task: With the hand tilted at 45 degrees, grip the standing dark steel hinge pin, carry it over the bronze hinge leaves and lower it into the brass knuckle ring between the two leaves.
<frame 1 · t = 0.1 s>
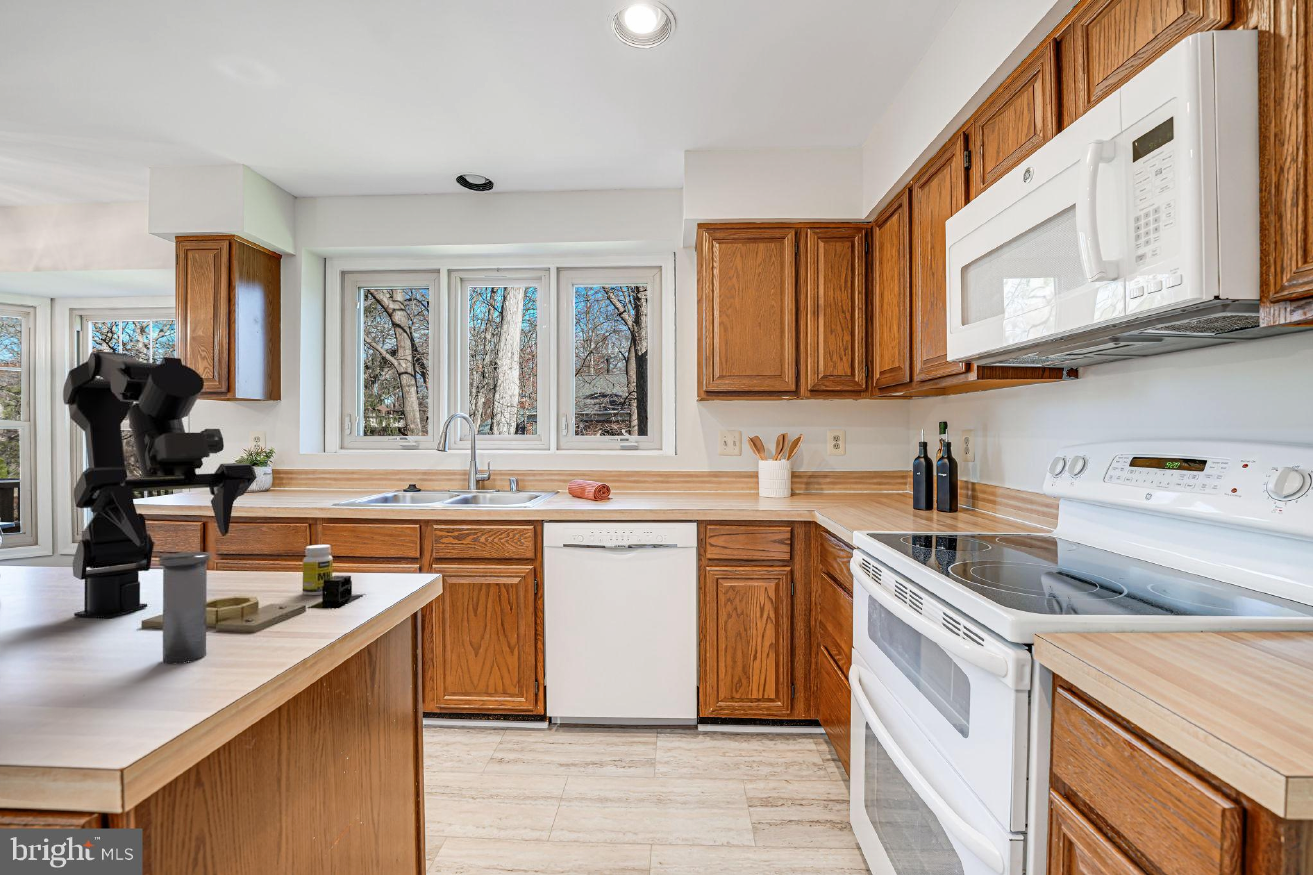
hand: (185, 539, 81), 15 cm above the countertop, tool tilted 35°, fingers open, 9 cm apart
supplement bottle: (317, 593, 112), on the countertop
hinge pin: (184, 657, 78), on the countertop
black notched mount: (337, 605, 106), on the countertop
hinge: (227, 618, 95), on the countertop
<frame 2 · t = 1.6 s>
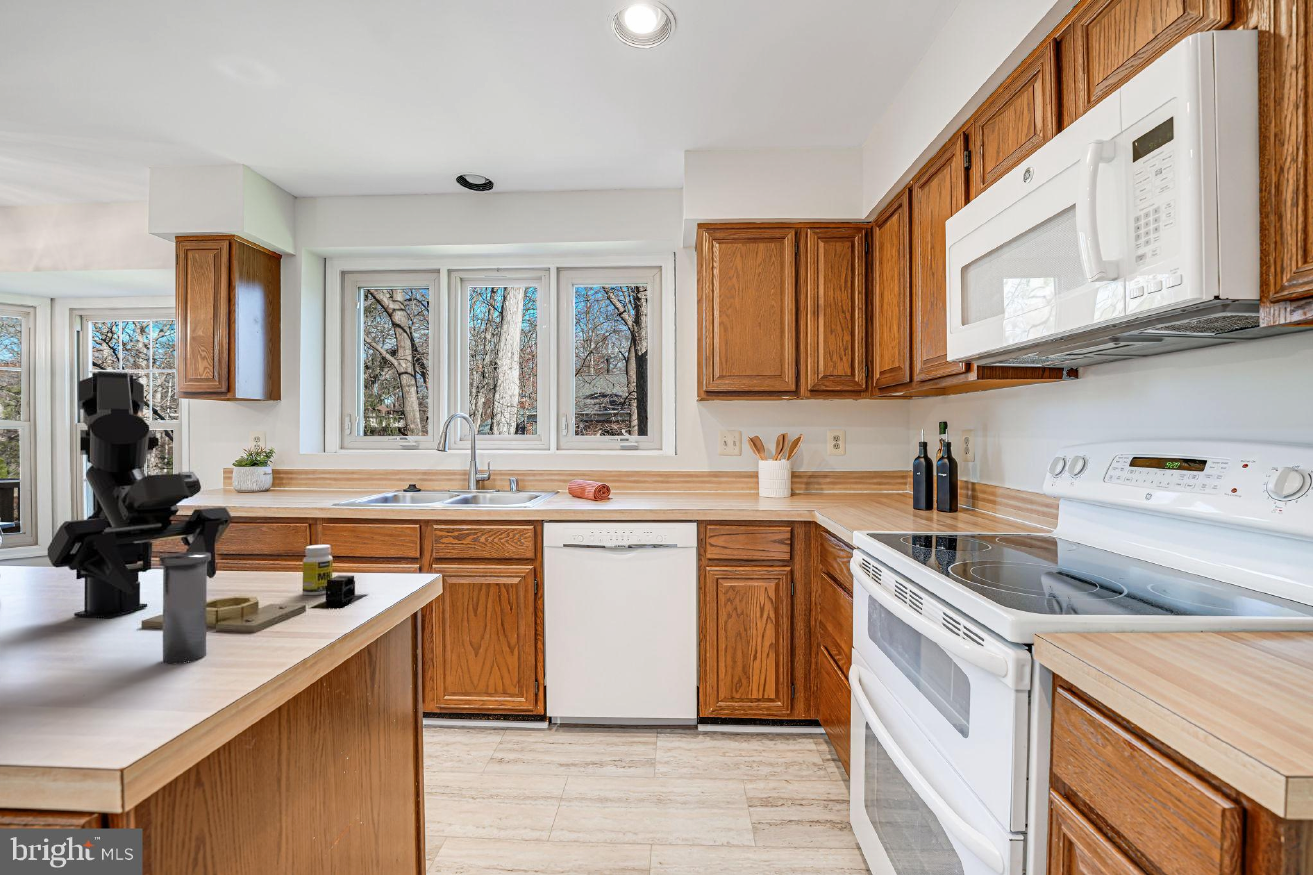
hand: (175, 583, 79), 9 cm above the countertop, tool tilted 45°, fingers open, 9 cm apart
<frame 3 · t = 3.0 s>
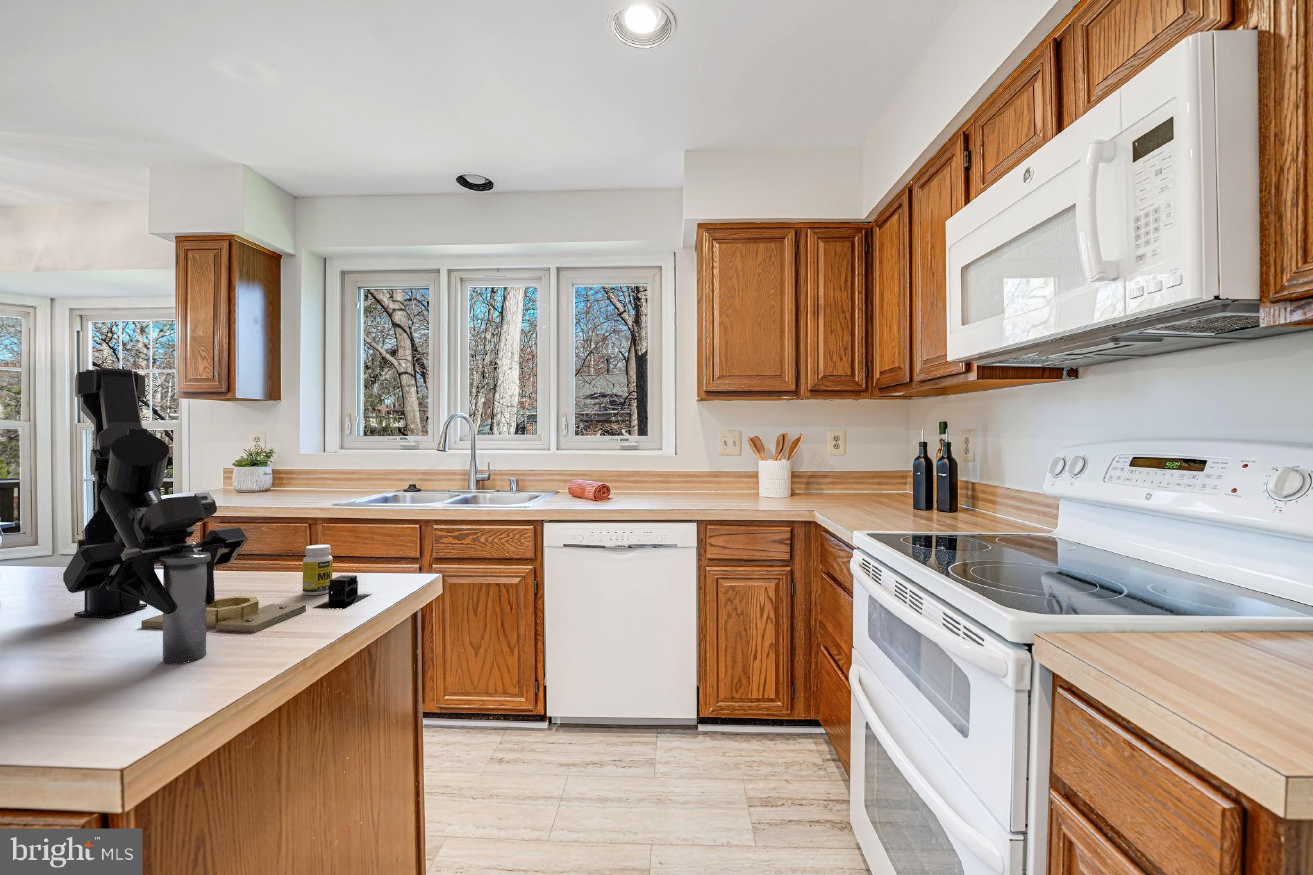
hand: (191, 607, 78), 7 cm above the countertop, tool tilted 45°, fingers closed on hinge pin, 4 cm apart
hinge pin: (184, 657, 78), on the countertop, touching gripper
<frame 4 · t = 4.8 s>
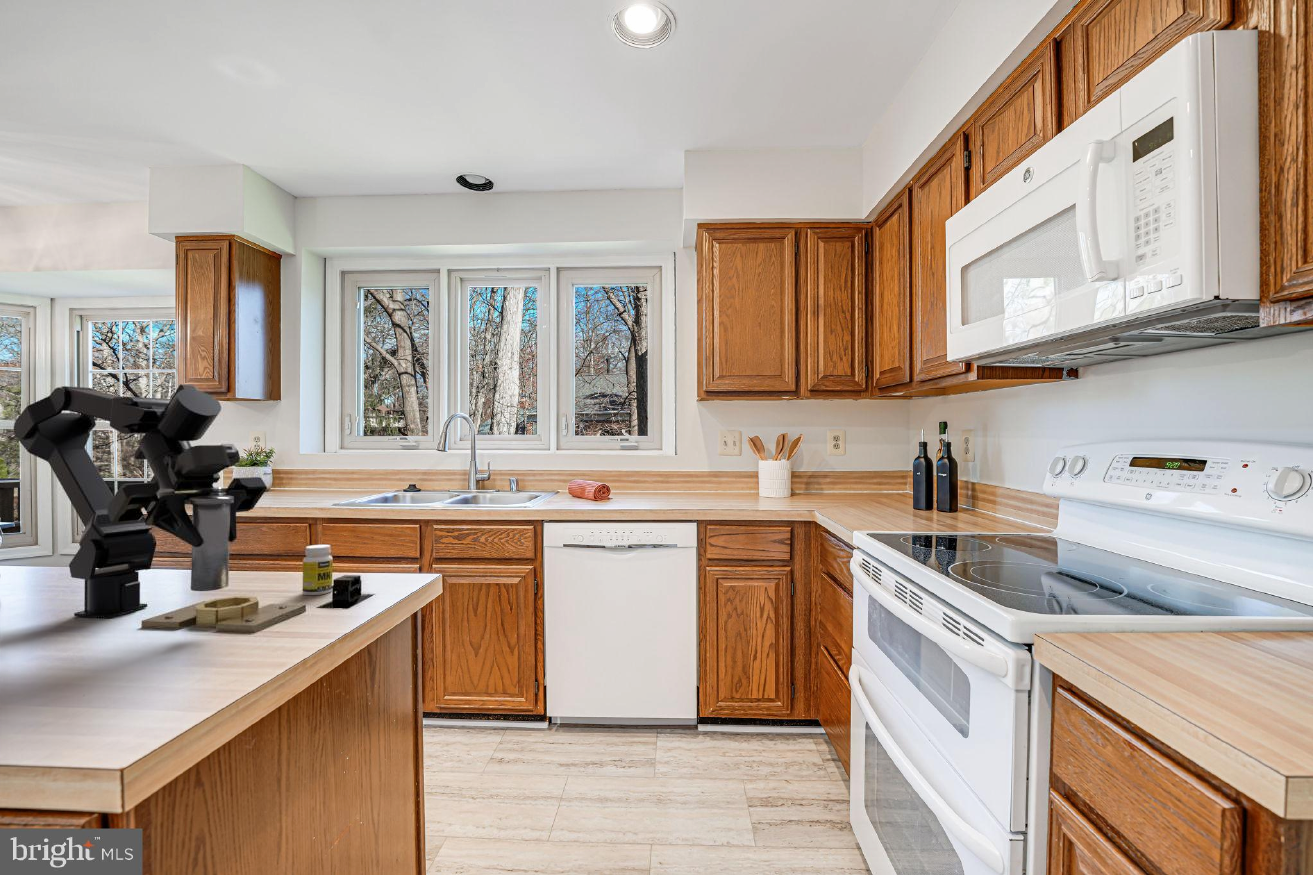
hand: (216, 542, 88), 13 cm above the countertop, tool tilted 45°, fingers closed on hinge pin, 4 cm apart
hinge pin: (209, 587, 89), point 6 cm above the countertop, touching gripper
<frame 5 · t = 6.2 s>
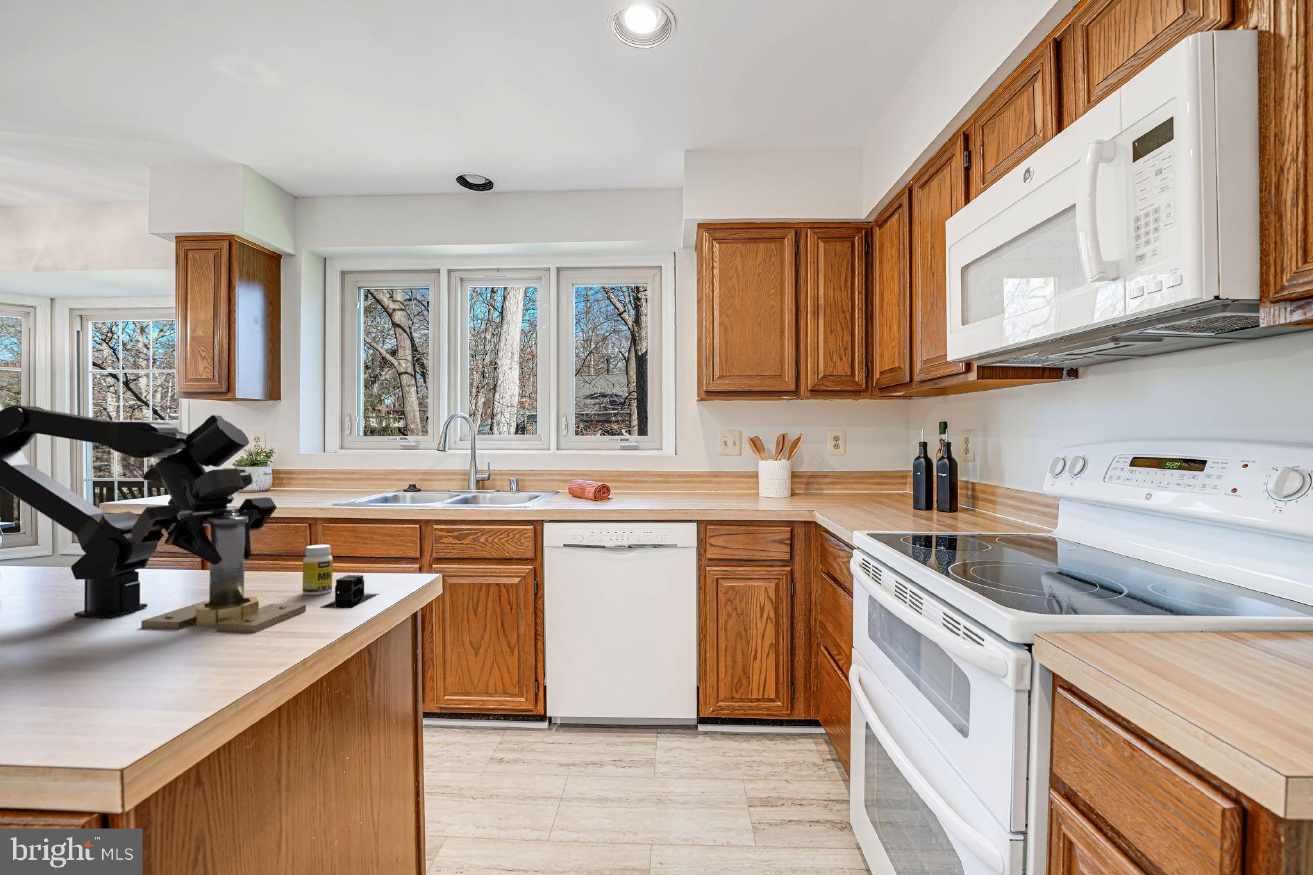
hand: (233, 560, 95), 9 cm above the countertop, tool tilted 45°, fingers closed on hinge pin, 4 cm apart
hinge pin: (226, 601, 95), point 3 cm above the countertop, touching gripper
when the fingers open (8 cm above the countertop, at t = 6.9 s): hinge pin drops 1 cm, resting in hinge.
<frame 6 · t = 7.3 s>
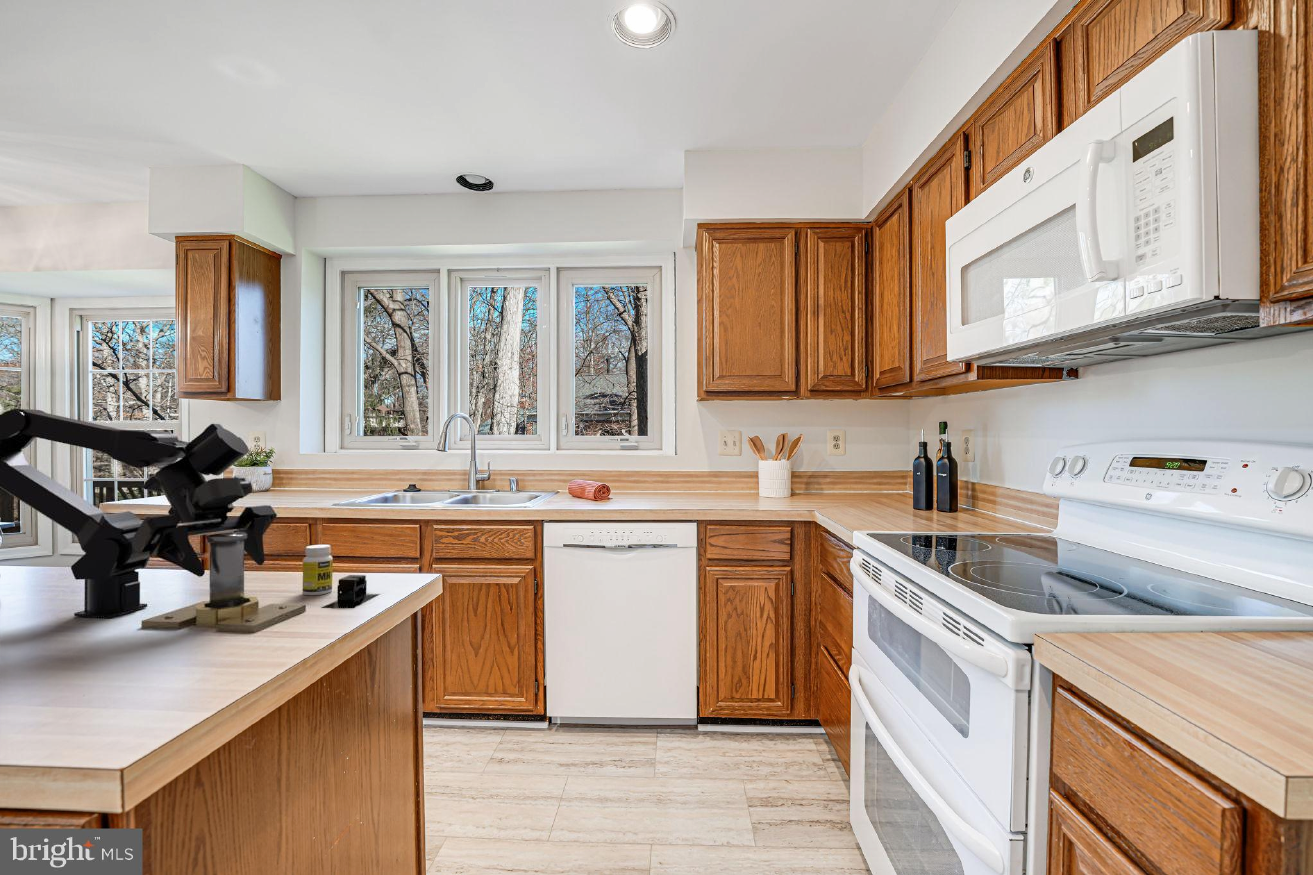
hand: (233, 568, 95), 8 cm above the countertop, tool tilted 45°, fingers open, 9 cm apart
hinge pin: (227, 618, 95), resting in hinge
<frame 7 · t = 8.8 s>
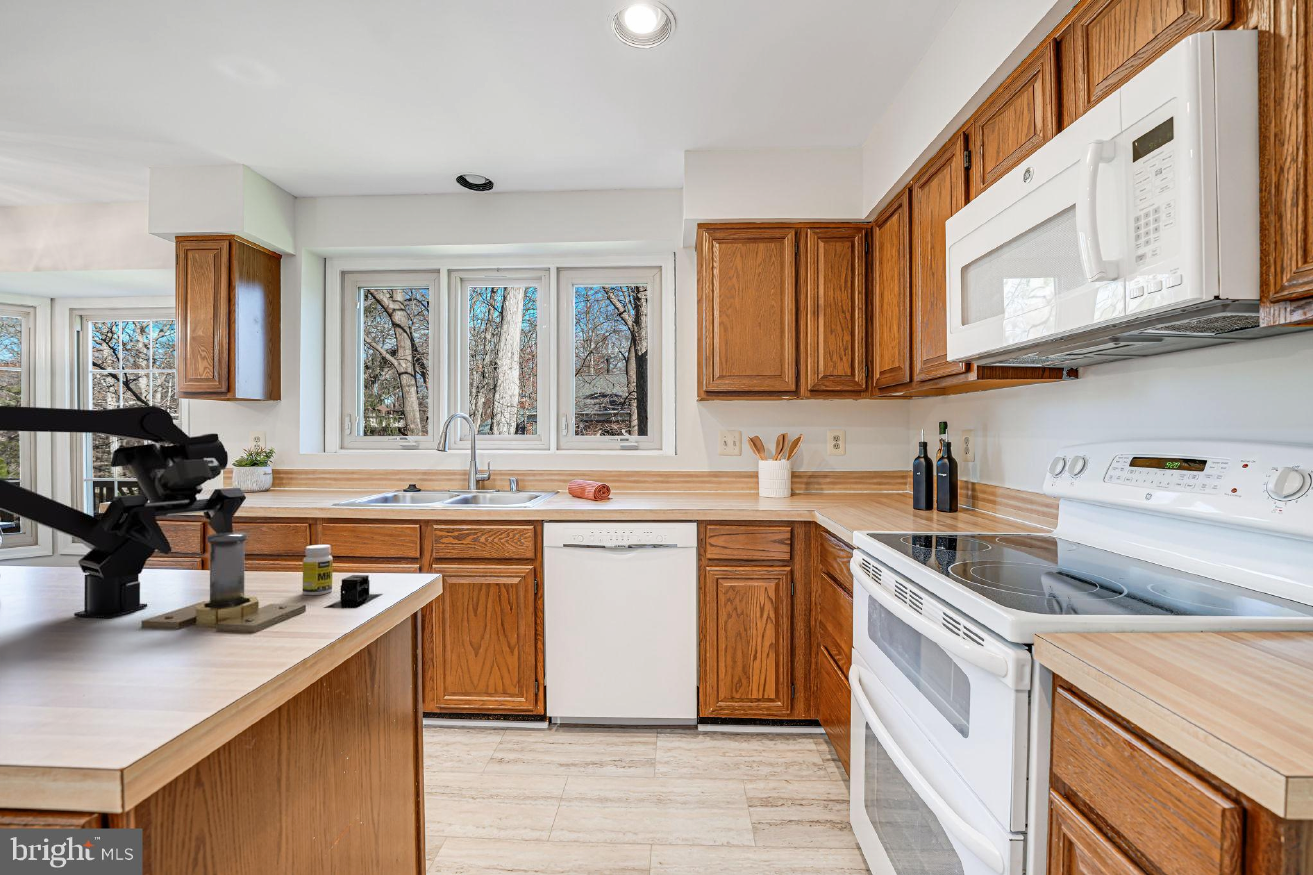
hand: (201, 547, 98), 11 cm above the countertop, tool tilted 45°, fingers open, 9 cm apart
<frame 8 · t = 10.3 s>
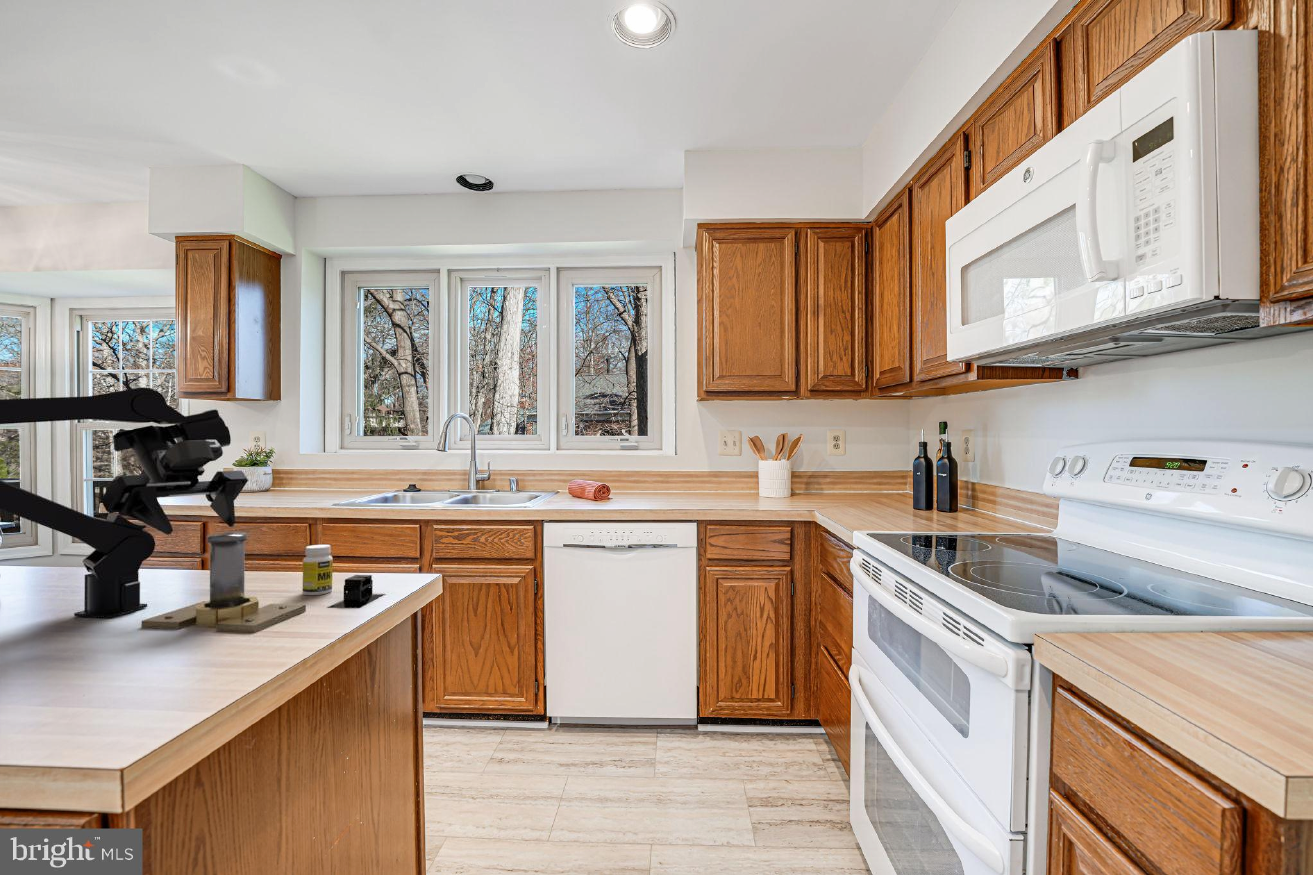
hand: (203, 528, 97), 14 cm above the countertop, tool tilted 45°, fingers open, 9 cm apart
at the end: hinge pin 0.1 cm off-centre on the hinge, point 0.0 cm above the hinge's base; hinge pin tilted 0°; the gripper is holding nothing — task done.
